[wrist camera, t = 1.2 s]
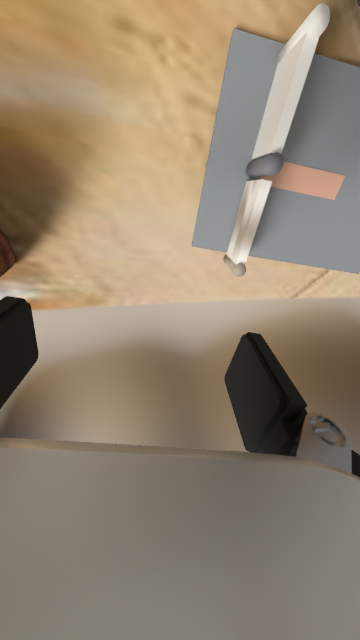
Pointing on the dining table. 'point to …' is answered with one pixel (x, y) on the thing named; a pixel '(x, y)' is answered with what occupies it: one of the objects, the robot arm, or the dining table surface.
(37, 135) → the dining table surface
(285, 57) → the board
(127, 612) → the robot arm
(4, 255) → the wooden figurine
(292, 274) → the dining table surface
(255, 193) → the hinged panel
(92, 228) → the dining table surface
